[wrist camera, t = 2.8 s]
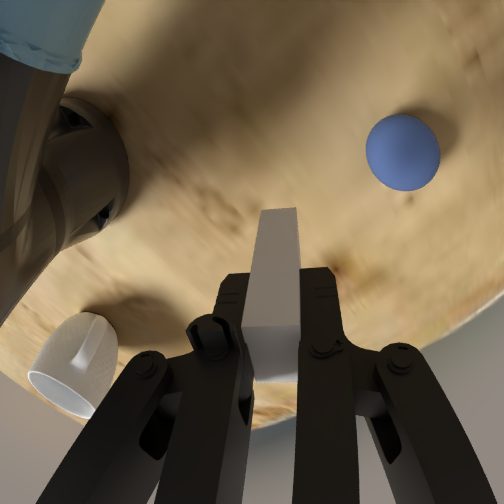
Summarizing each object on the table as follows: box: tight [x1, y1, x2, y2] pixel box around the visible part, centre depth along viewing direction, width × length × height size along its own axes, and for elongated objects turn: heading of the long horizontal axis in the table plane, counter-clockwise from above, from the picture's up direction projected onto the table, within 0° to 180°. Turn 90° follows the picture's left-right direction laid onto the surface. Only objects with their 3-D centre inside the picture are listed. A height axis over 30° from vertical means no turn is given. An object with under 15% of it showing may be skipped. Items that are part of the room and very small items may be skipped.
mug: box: [28, 312, 118, 419], centre depth 36 cm, size 15×11×13 cm
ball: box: [366, 114, 440, 191], centre depth 21 cm, size 6×6×6 cm
